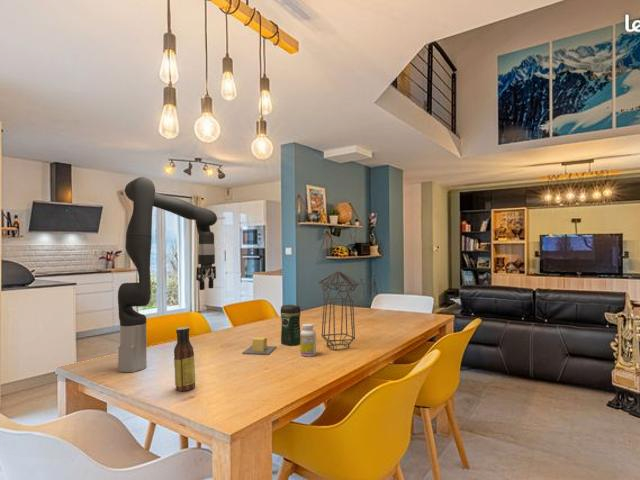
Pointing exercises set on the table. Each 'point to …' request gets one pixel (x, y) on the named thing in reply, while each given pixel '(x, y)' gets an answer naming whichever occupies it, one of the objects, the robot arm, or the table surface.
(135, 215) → the robot arm
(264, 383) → the table surface
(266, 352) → the coaster
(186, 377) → the sauce bottle
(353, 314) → the geometric lantern
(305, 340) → the supplement bottle
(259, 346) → the cube
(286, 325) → the coffee jar
